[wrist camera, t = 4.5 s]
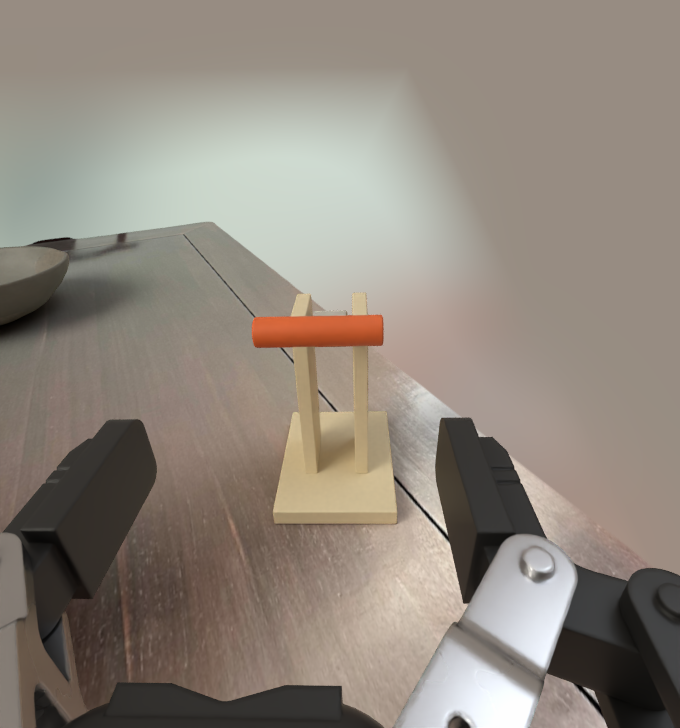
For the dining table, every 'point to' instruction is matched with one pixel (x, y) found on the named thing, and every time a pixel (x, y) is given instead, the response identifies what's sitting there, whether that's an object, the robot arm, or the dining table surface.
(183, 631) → the dining table surface
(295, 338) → the lever
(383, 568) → the dining table surface
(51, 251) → the bowl
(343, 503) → the bracket
